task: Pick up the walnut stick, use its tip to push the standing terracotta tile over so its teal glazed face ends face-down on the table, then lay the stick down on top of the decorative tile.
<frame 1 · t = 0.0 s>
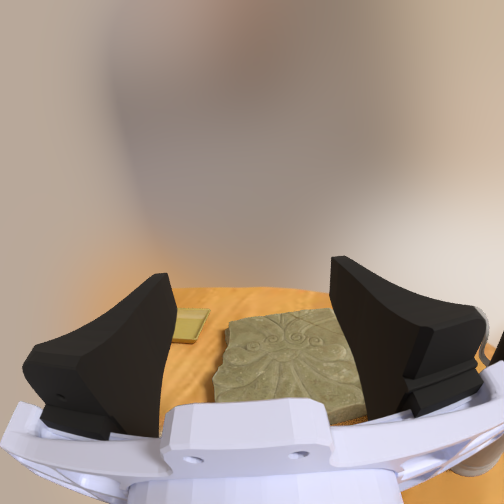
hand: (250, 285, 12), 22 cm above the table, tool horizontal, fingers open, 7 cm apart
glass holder: (459, 430, 20), on the table
decorative tile: (287, 373, 36), on the table
saucer: (182, 332, 46), on the table
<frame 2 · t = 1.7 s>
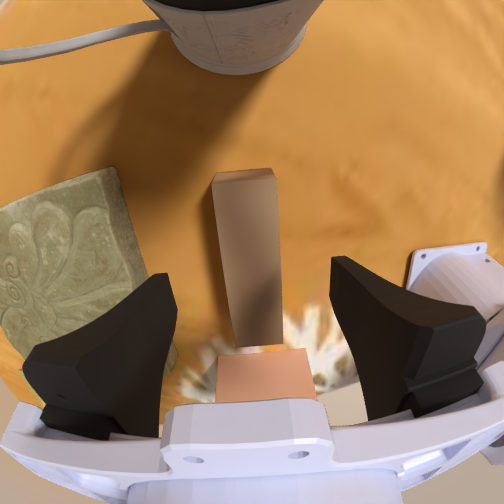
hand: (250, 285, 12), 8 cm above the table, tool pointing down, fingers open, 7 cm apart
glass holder: (196, 29, 14), on the table
glazed tile: (262, 358, 26), on the table
decorative tile: (61, 287, 23), on the table
walnut stick: (251, 251, 21), on the table
saucer: (56, 385, 30), on the table
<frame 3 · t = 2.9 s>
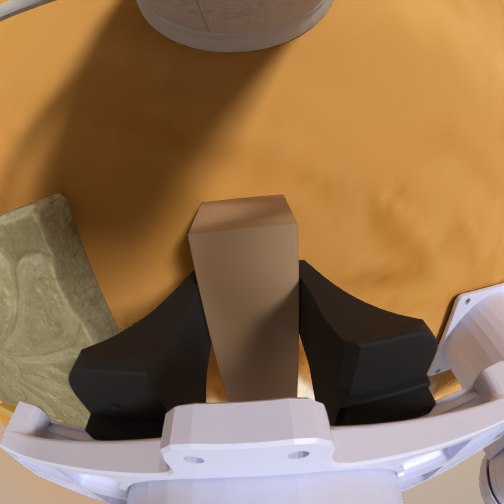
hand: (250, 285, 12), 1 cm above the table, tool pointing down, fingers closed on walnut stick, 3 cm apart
decorative tile: (27, 331, 17), on the table
walnut stick: (254, 310, 15), on the table, touching gripper
saucer: (39, 420, 24), on the table
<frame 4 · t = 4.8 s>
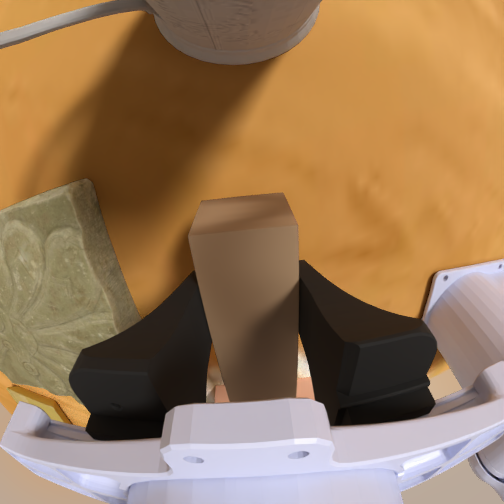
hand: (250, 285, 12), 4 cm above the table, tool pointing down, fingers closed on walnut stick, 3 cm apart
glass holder: (185, 11, 11), on the table
glazed tile: (264, 387, 22), on the table
decorative tile: (43, 309, 19), on the table
walnut stick: (254, 307, 15), point 3 cm above the table, touching gripper
saucer: (46, 404, 26), on the table
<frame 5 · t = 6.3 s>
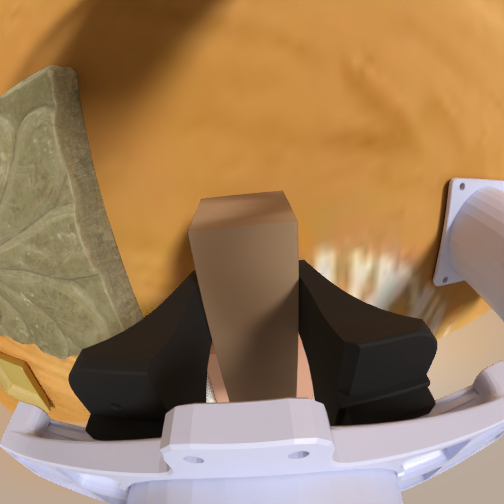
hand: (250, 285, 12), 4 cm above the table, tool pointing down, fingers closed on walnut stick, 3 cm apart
glazed tile: (259, 342, 20), on the table, tilted 90°
decorative tile: (12, 236, 16), on the table
walnut stick: (254, 306, 15), point 3 cm above the table, touching gripper
saucer: (20, 370, 23), on the table
when the fingers open (6 cm above the table, at t = 9.1 s): walnut stick drops 1 cm, resting on decorative tile.
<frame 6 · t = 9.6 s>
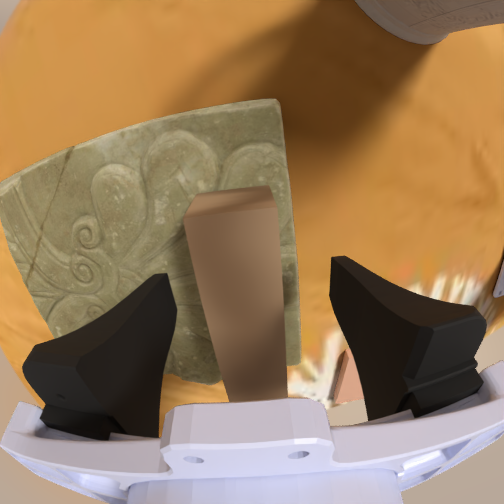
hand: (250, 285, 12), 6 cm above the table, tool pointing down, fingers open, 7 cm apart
glazed tile: (387, 344, 23), on the table, tilted 90°
decorative tile: (151, 264, 19), on the table, touching walnut stick
walnut stick: (246, 293, 16), point 3 cm above the table, touching decorative tile
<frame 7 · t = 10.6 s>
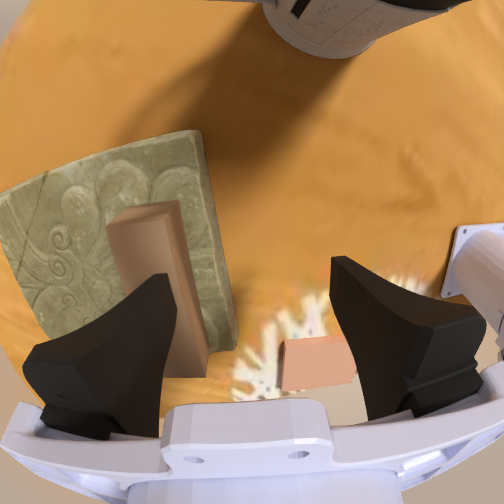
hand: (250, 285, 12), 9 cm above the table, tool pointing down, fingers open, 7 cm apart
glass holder: (287, 12, 14), on the table
glazed tile: (325, 338, 26), on the table, tilted 90°
decorative tile: (112, 262, 23), on the table, touching walnut stick
walnut stick: (171, 284, 20), point 3 cm above the table, touching decorative tile
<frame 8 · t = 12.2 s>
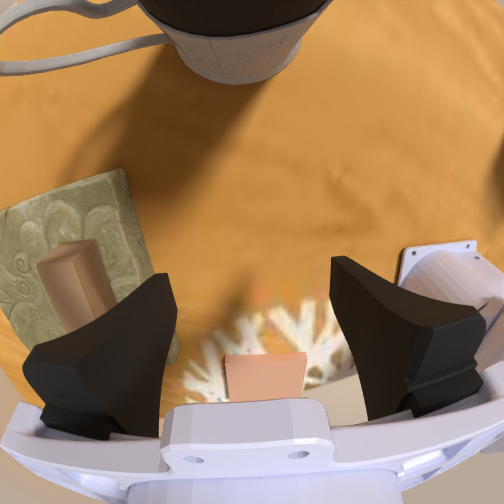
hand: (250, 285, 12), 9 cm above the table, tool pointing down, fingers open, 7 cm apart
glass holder: (199, 40, 15), on the table
glazed tile: (266, 356, 27), on the table, tilted 90°
decorative tile: (70, 282, 24), on the table, touching walnut stick
walnut stick: (100, 307, 21), point 3 cm above the table, touching decorative tile
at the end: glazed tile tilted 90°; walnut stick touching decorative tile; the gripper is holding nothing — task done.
